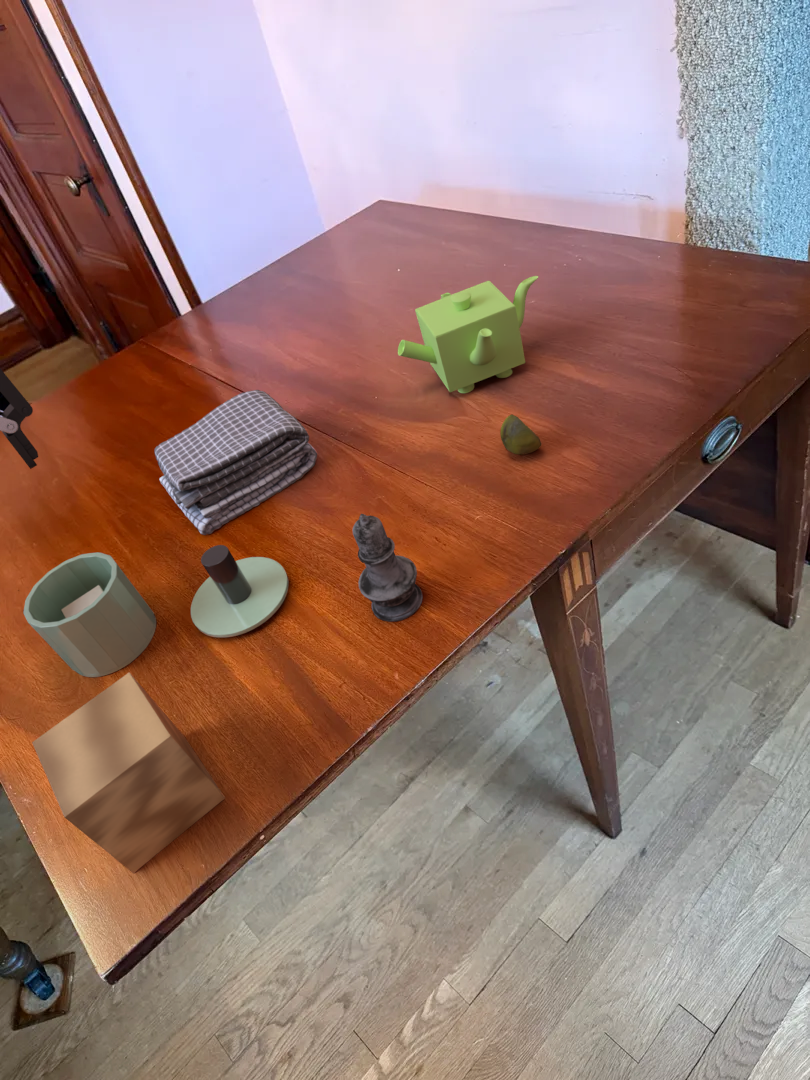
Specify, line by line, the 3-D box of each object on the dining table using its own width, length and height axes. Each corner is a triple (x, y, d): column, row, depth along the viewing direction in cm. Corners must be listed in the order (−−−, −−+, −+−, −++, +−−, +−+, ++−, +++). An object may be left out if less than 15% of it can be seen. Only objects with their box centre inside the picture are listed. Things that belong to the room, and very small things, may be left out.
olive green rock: (509, 438, 89) (502, 404, 85) (549, 440, 86) (543, 404, 83) (498, 463, 86) (490, 428, 83) (539, 465, 84) (532, 429, 80)
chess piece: (436, 587, 74) (405, 498, 67) (406, 631, 71) (370, 543, 63) (388, 573, 78) (353, 487, 70) (357, 615, 75) (317, 529, 67)
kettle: (549, 343, 101) (537, 265, 94) (512, 406, 93) (496, 326, 86) (450, 341, 109) (432, 269, 101) (408, 399, 101) (385, 325, 93)
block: (98, 660, 79) (72, 631, 76) (86, 638, 82) (60, 609, 79) (136, 634, 80) (112, 605, 77) (122, 614, 83) (98, 584, 80)
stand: (133, 873, 61) (64, 817, 54) (97, 800, 67) (31, 742, 60) (225, 797, 63) (170, 735, 57) (183, 734, 70) (129, 671, 63)
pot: (87, 694, 77) (38, 643, 71) (59, 644, 83) (13, 594, 78) (170, 634, 80) (130, 581, 74) (136, 590, 87) (98, 539, 81)
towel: (327, 466, 94) (305, 416, 89) (198, 542, 90) (168, 494, 85) (280, 421, 105) (258, 374, 100) (163, 487, 101) (134, 441, 96)
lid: (222, 659, 75) (190, 614, 70) (179, 606, 83) (147, 563, 78) (309, 594, 79) (284, 547, 74) (260, 549, 86) (235, 504, 81)
